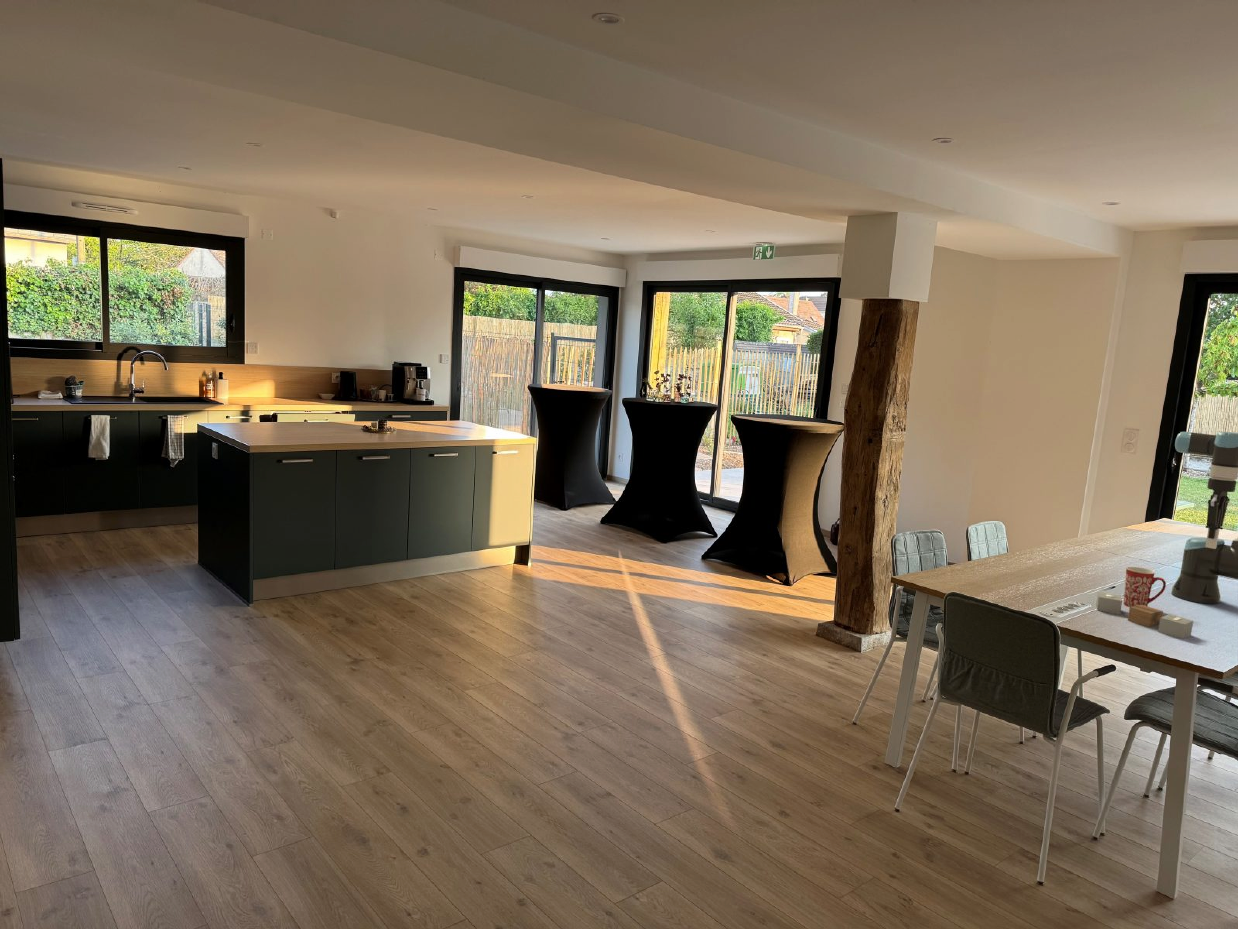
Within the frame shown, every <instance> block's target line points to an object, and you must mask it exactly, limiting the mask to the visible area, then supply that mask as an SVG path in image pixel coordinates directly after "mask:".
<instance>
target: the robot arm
mask: <svg viewBox="0 0 1238 929" xmlns="http://www.w3.org/2000/svg"><path fill="white" fill-rule="evenodd" d="M1179 432H1180V433H1178V434H1177V436H1176V438H1175V441H1174V442H1175V443H1174V447H1175V450H1176V452H1178V453H1183V454H1185V455H1186V454H1188V455H1196V456H1205V457H1210V458H1211V457H1212V458H1211V463H1210V466H1209V467H1208V470H1209V478H1208V480H1207V486H1206V487H1207V489H1208V490H1210V491H1211V490H1212V494H1211V495H1210V497H1209V498H1210V499H1208V500H1207V506H1208V508H1207V517H1206V525H1205V528H1206V529H1207V534H1206V537H1190V538H1188V539H1187V540H1186V542H1185V545H1184V548H1183V555H1182V561H1181V562H1182V563H1181V567H1180V568H1181V569H1180V573H1179V576H1178V578H1177V579H1176V581H1175V583H1174V584H1173V585H1172V588H1171V595H1172V596H1174V597H1176V598H1179V599H1182V600H1186V601H1189V602H1195V603H1201V604H1210V605H1211V604H1212V605H1217V604H1219V603H1220V602H1221V592H1220V588H1219V583H1218V580H1219V579H1218V578H1219V576H1220V577H1224V578H1229V579H1231V580H1238V537H1237V538H1235V539H1233V540H1232V541H1231V544H1230V545H1228V544H1225V540H1224V539H1221V538H1219V535H1220V530H1223V529H1224V527H1223V525H1224V520H1225V517H1226V513H1227V508H1228V505H1229V503H1230V498H1229V496H1228V493H1233V492H1235V491H1236V487H1237V481H1236V480H1238V432H1232V431H1218V432H1216V434H1209V433H1201V432H1193V431H1192V432H1191V431H1179Z"/></svg>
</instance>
